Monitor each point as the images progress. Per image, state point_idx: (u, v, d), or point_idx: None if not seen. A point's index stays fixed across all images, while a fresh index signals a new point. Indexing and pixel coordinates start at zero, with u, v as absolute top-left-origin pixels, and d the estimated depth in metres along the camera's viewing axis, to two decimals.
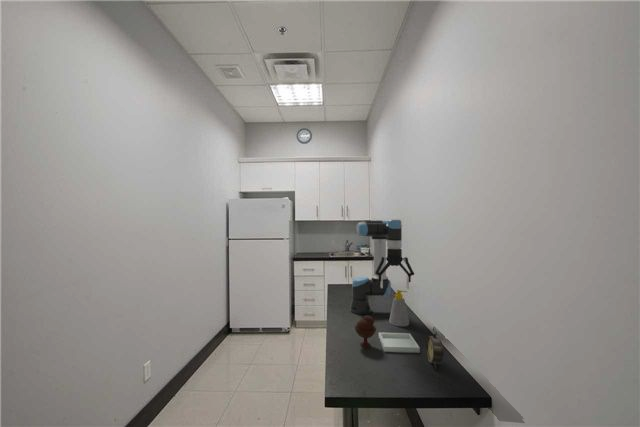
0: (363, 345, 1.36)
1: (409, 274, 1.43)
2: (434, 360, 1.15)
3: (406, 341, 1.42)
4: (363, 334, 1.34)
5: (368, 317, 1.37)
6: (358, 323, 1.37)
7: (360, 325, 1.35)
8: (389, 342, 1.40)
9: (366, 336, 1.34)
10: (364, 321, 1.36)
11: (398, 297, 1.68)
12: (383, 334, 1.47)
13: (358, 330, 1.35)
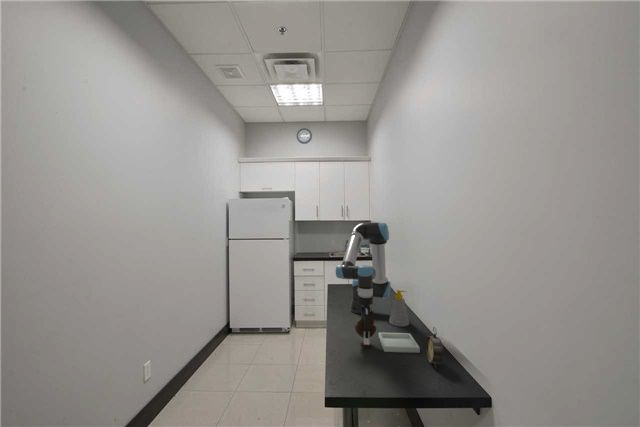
0: (363, 345, 1.36)
1: (364, 329, 1.32)
2: (434, 360, 1.15)
3: (406, 341, 1.42)
4: (363, 334, 1.34)
5: None
6: (358, 323, 1.37)
7: (360, 325, 1.35)
8: (389, 342, 1.40)
9: None
10: None
11: (398, 297, 1.68)
12: (383, 334, 1.47)
13: (358, 330, 1.35)
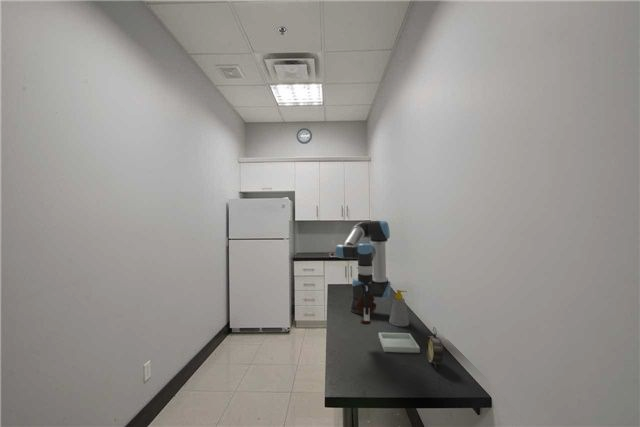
0: (363, 322, 1.37)
1: (364, 305, 1.33)
2: (434, 360, 1.15)
3: (406, 341, 1.42)
4: (363, 311, 1.35)
5: None
6: (358, 300, 1.38)
7: (360, 302, 1.36)
8: (389, 342, 1.40)
9: None
10: None
11: (398, 297, 1.68)
12: (383, 334, 1.47)
13: (358, 307, 1.36)
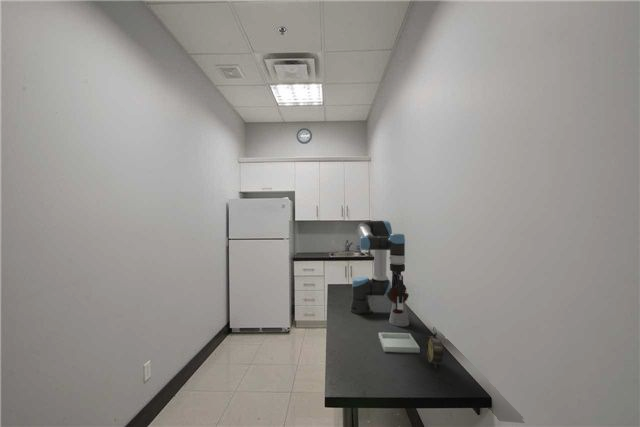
0: (396, 311, 1.38)
1: (398, 294, 1.34)
2: (434, 360, 1.15)
3: (406, 341, 1.42)
4: (396, 299, 1.36)
5: None
6: (391, 290, 1.39)
7: (393, 291, 1.37)
8: (389, 342, 1.40)
9: None
10: None
11: None
12: (383, 334, 1.47)
13: (391, 296, 1.37)
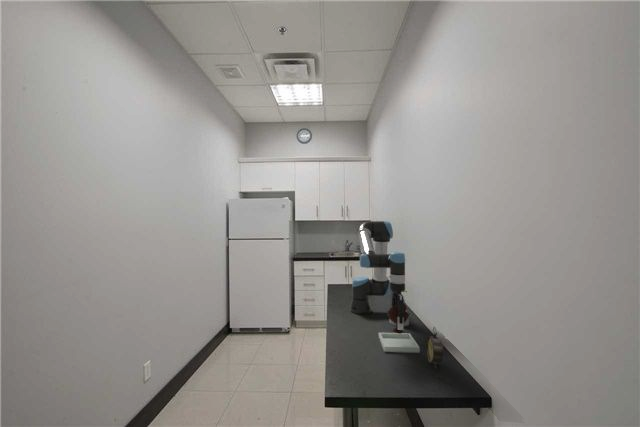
0: (396, 331, 1.38)
1: (398, 314, 1.33)
2: (434, 360, 1.15)
3: (406, 341, 1.42)
4: (397, 319, 1.35)
5: None
6: (391, 309, 1.39)
7: (393, 311, 1.37)
8: (389, 342, 1.40)
9: None
10: None
11: None
12: (383, 334, 1.47)
13: (391, 316, 1.37)
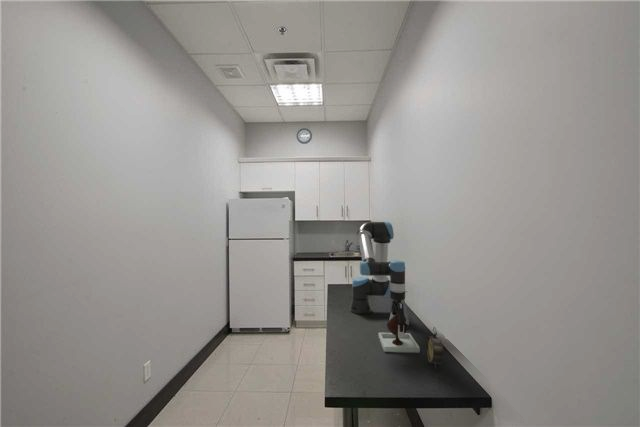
0: (396, 342, 1.38)
1: None
2: (434, 360, 1.15)
3: (406, 341, 1.42)
4: (396, 332, 1.36)
5: None
6: (390, 321, 1.39)
7: (393, 323, 1.37)
8: (389, 342, 1.40)
9: None
10: (397, 319, 1.38)
11: None
12: (383, 334, 1.47)
13: (391, 328, 1.37)
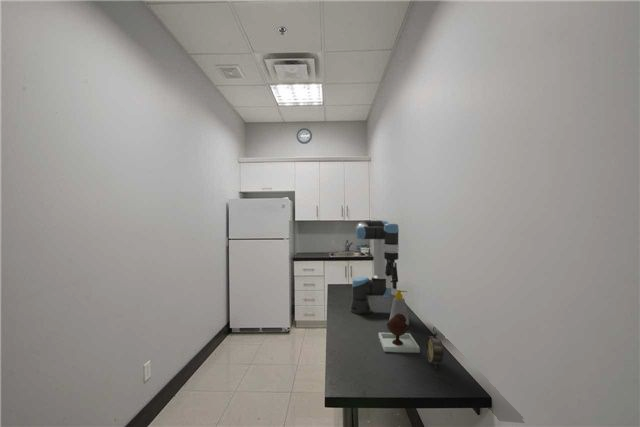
0: (396, 342, 1.38)
1: (392, 280, 1.40)
2: (434, 360, 1.15)
3: (406, 341, 1.42)
4: (396, 332, 1.36)
5: (400, 315, 1.39)
6: (390, 321, 1.39)
7: (393, 323, 1.37)
8: (389, 342, 1.40)
9: (399, 334, 1.36)
10: (397, 319, 1.38)
11: (398, 297, 1.68)
12: (383, 334, 1.47)
13: (391, 328, 1.37)
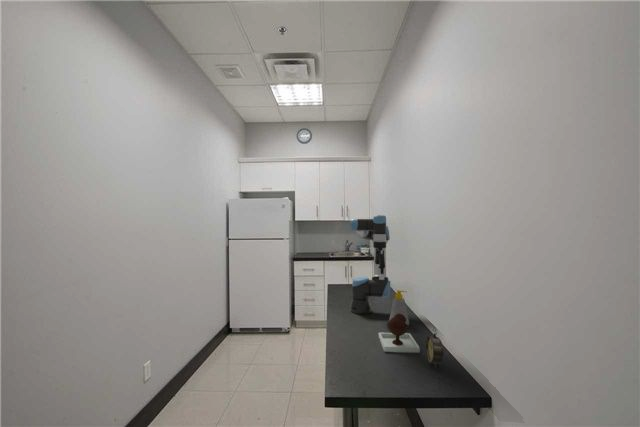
0: (396, 342, 1.38)
1: (379, 266, 1.52)
2: (434, 360, 1.15)
3: (406, 341, 1.42)
4: (396, 332, 1.36)
5: (400, 315, 1.39)
6: (390, 321, 1.39)
7: (393, 323, 1.37)
8: (389, 342, 1.40)
9: (399, 334, 1.36)
10: (397, 319, 1.38)
11: (398, 297, 1.68)
12: (383, 334, 1.47)
13: (391, 328, 1.37)
